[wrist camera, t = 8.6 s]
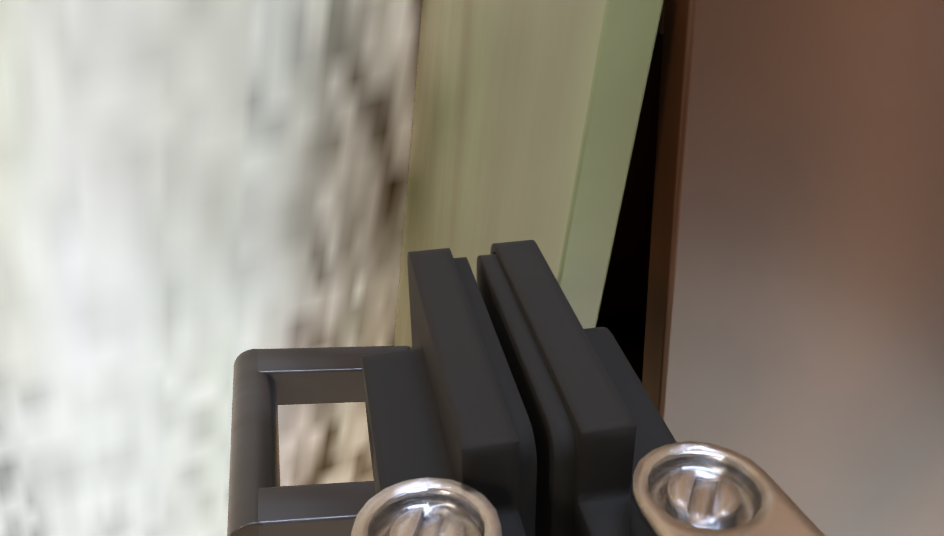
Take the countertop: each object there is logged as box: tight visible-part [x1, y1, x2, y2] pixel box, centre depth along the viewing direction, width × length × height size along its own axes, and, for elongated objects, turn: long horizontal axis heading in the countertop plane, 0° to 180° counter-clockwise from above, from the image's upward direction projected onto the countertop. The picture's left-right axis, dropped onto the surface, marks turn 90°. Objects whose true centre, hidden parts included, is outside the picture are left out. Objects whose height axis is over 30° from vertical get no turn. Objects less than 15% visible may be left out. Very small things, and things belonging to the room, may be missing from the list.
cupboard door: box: [227, 0, 664, 536], centre depth 20 cm, size 6×15×14 cm, turn 174°
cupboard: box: [596, 0, 944, 536], centre depth 22 cm, size 10×15×14 cm
